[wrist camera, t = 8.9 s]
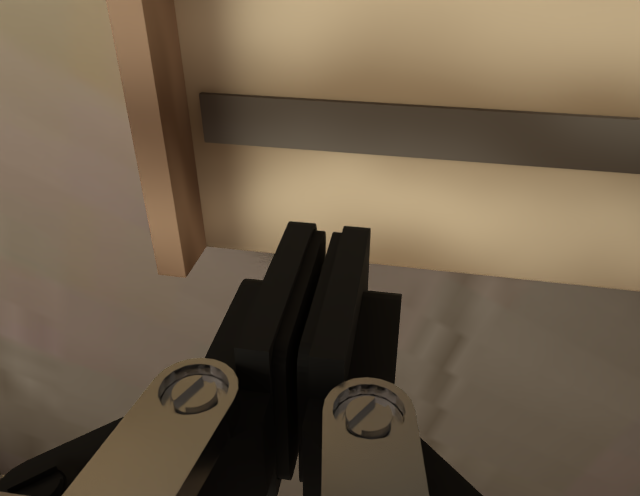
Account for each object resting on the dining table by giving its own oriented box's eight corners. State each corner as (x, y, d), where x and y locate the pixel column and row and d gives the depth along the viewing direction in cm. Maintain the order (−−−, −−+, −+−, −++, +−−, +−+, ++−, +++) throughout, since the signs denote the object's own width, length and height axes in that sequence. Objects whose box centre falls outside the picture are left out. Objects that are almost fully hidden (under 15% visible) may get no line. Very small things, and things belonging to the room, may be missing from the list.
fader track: (820, 276, 20) (891, 358, 17) (200, 217, 24) (158, 274, 20) (1004, -57, 15) (1162, -32, 11) (162, -66, 18) (96, -51, 15)
